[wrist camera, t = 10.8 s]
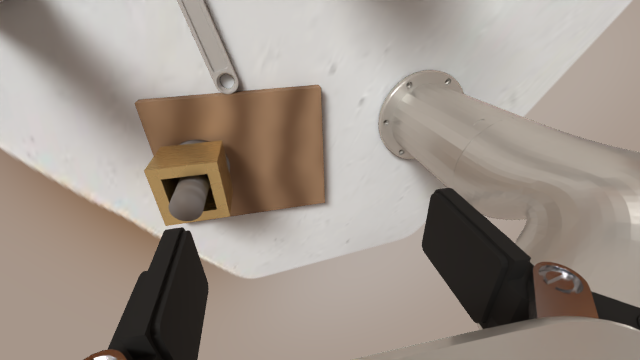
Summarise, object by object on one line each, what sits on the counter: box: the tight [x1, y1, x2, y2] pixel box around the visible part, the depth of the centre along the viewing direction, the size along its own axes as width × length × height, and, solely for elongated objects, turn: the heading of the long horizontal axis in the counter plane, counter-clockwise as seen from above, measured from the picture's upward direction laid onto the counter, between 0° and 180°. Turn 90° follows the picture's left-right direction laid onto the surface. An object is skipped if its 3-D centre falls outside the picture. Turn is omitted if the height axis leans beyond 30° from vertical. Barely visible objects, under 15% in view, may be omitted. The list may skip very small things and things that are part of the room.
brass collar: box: [144, 140, 233, 226], centre depth 34 cm, size 7×7×6 cm
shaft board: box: [135, 85, 325, 224], centre depth 34 cm, size 21×17×11 cm
